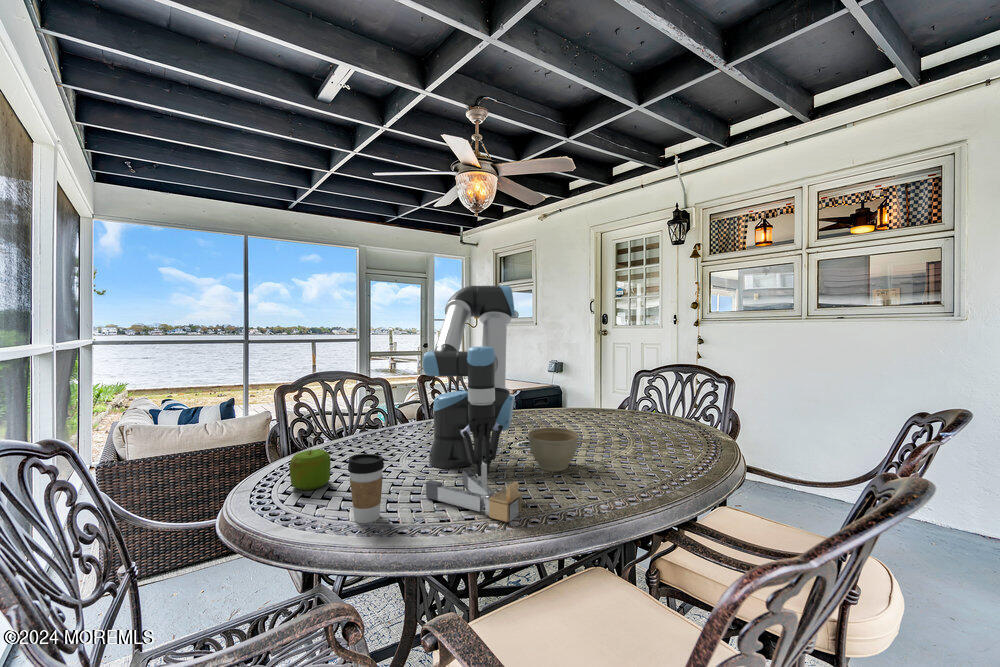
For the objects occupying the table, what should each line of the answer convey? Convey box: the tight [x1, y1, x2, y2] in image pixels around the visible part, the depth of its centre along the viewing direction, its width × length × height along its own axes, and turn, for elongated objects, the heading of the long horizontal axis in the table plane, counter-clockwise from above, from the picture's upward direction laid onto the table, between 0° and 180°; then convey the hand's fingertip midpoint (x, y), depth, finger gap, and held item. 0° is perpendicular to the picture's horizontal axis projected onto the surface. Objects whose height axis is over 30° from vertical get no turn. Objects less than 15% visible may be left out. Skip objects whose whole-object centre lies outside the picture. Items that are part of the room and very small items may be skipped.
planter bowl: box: [527, 427, 579, 472], centre depth 143 cm, size 16×16×11 cm
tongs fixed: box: [425, 479, 520, 522], centre depth 114 cm, size 26×4×5 cm, turn 59°
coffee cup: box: [347, 453, 385, 524], centre depth 107 cm, size 8×8×15 cm
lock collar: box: [488, 481, 522, 523], centre depth 108 cm, size 5×7×8 cm
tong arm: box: [462, 468, 496, 505], centre depth 120 cm, size 17×2×4 cm, turn 27°
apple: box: [288, 448, 332, 491], centre depth 128 cm, size 11×11×11 cm
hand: (482, 486), depth 123 cm, fingers closed
